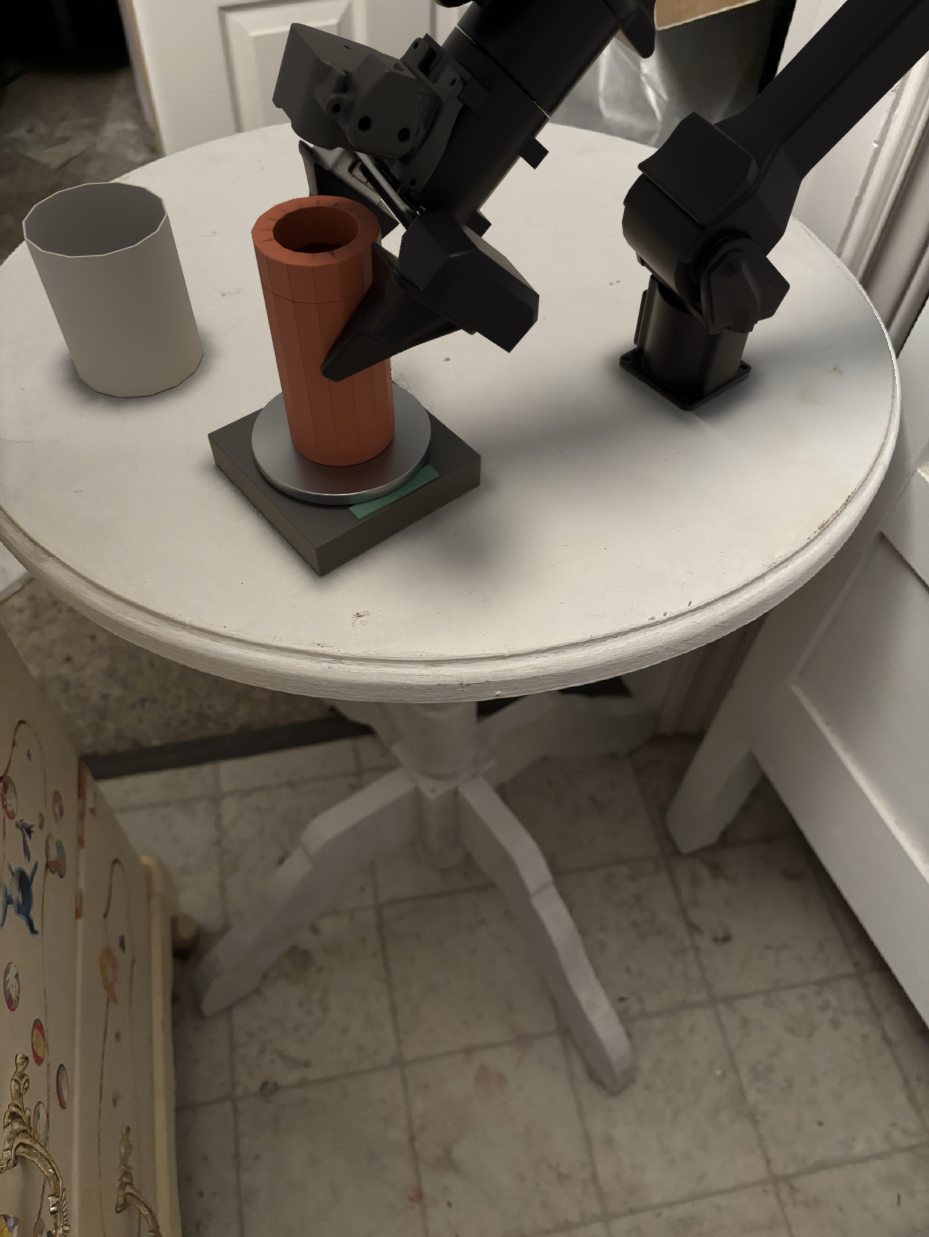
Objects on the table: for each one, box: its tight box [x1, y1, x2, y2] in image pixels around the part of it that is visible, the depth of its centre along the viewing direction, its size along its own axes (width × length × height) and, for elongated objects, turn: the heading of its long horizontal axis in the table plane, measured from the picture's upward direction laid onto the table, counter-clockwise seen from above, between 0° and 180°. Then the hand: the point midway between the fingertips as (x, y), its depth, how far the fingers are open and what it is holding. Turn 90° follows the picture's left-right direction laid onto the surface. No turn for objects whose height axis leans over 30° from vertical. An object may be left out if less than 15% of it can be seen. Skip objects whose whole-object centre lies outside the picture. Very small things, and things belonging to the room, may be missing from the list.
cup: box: [21, 181, 205, 398], centre depth 59 cm, size 8×8×10 cm
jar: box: [250, 195, 395, 466], centre depth 49 cm, size 6×6×12 cm
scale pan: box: [251, 383, 431, 505], centre depth 54 cm, size 10×10×1 cm
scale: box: [207, 380, 482, 577], centre depth 56 cm, size 12×12×3 cm
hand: (305, 340), depth 48 cm, fingers closed on jar, 6 cm apart
